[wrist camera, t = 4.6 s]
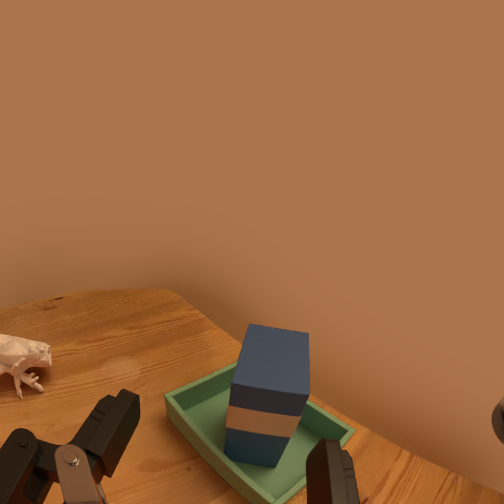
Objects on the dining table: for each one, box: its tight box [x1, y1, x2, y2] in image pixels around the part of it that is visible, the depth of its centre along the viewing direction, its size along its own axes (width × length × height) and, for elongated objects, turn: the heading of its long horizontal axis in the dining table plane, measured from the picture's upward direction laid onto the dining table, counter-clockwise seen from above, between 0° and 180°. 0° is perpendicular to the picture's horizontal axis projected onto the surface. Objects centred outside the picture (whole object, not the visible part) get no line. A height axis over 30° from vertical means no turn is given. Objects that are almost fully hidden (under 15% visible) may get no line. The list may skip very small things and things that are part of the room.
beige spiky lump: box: [0, 334, 52, 399], centre depth 21 cm, size 12×7×12 cm
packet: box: [224, 324, 310, 468], centre depth 20 cm, size 5×7×12 cm
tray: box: [164, 361, 356, 504], centre depth 22 cm, size 15×11×4 cm
